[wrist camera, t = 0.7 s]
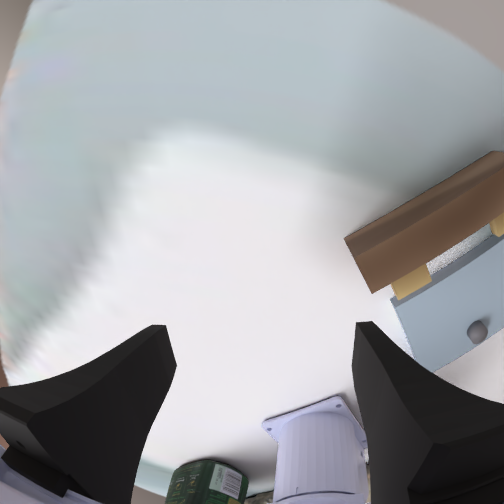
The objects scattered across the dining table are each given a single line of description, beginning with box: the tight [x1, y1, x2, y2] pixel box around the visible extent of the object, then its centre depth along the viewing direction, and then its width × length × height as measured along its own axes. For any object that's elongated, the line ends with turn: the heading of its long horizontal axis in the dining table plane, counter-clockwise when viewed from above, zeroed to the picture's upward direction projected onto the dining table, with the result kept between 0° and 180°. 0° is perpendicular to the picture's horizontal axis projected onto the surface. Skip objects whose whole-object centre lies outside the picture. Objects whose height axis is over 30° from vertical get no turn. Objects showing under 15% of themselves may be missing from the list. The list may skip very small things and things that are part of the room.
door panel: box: [390, 234, 504, 373], centre depth 19 cm, size 8×11×3 cm
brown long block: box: [344, 151, 504, 300], centre depth 16 cm, size 4×13×4 cm, turn 123°
